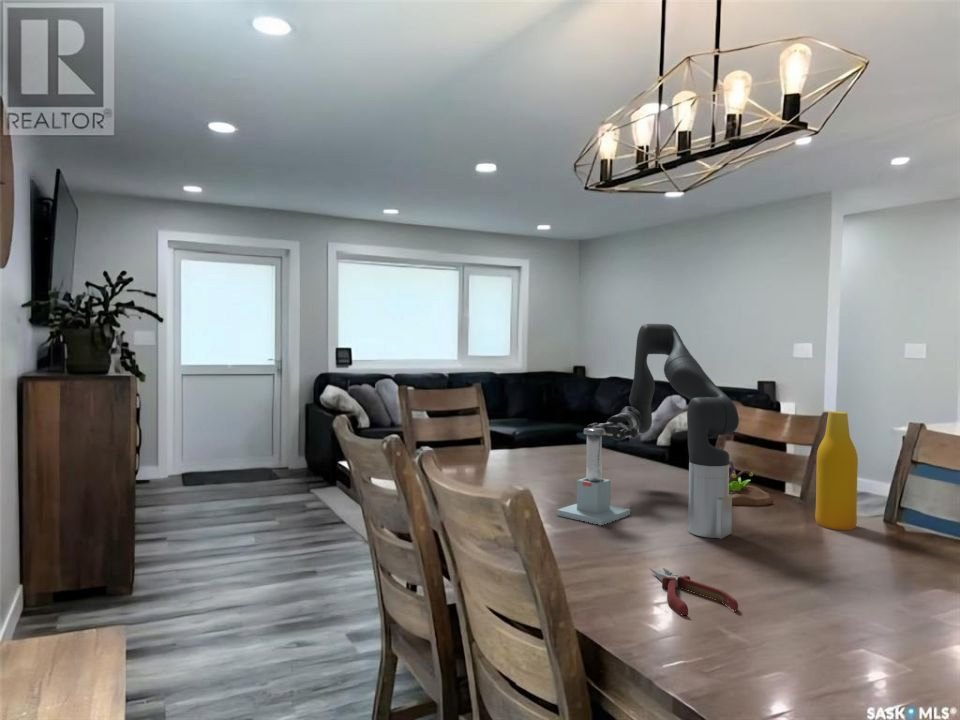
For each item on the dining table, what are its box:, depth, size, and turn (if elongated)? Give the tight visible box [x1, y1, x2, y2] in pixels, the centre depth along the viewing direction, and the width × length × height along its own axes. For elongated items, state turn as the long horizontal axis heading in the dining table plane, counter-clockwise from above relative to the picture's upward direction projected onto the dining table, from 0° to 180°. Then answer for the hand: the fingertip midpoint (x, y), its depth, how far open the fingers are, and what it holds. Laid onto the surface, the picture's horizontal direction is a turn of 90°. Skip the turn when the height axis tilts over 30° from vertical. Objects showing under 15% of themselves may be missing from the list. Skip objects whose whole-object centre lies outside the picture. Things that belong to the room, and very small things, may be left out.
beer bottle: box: [814, 411, 859, 531], centre depth 161 cm, size 9×9×29 cm
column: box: [583, 427, 606, 483], centre depth 170 cm, size 6×6×21 cm
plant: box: [729, 460, 772, 507], centre depth 191 cm, size 20×20×11 cm
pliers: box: [649, 567, 739, 616], centre depth 118 cm, size 11×20×3 cm, turn 11°
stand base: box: [556, 477, 631, 526], centre depth 170 cm, size 14×14×10 cm
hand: (606, 433), depth 179 cm, fingers open, 8 cm apart
